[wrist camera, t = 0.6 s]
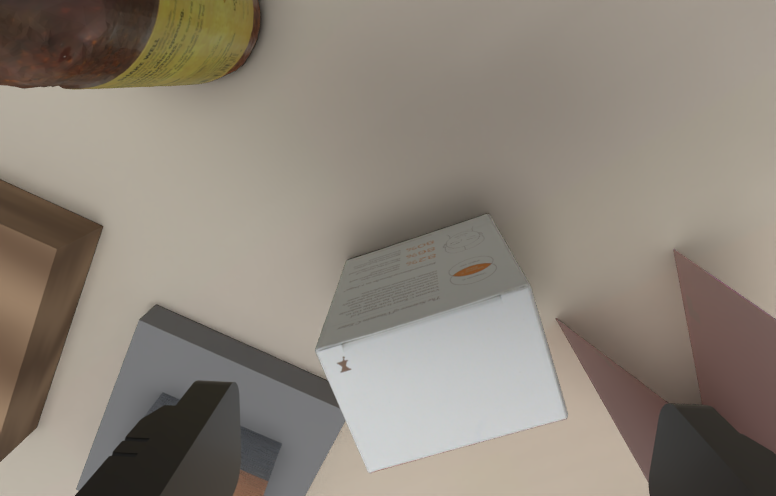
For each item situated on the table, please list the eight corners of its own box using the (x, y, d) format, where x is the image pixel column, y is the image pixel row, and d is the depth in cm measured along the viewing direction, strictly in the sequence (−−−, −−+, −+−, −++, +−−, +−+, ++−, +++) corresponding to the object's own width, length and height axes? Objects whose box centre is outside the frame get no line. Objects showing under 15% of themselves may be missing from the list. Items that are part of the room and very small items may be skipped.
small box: (379, 348, 31) (362, 479, 21) (344, 257, 30) (307, 351, 20) (521, 306, 30) (573, 424, 20) (491, 209, 29) (532, 284, 19)
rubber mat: (156, 304, 31) (139, 319, 29) (353, 392, 32) (349, 412, 30) (94, 466, 34) (76, 489, 33) (274, 540, 36) (266, 567, 34)
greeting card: (724, 429, 32) (978, 725, 17) (592, 460, 33) (729, 762, 18) (691, 244, 29) (967, 417, 14) (546, 284, 30) (669, 483, 15)
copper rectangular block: (162, 392, 30) (104, 466, 25) (282, 443, 31) (251, 528, 25) (135, 461, 32) (73, 546, 26) (249, 508, 32) (213, 602, 27)
